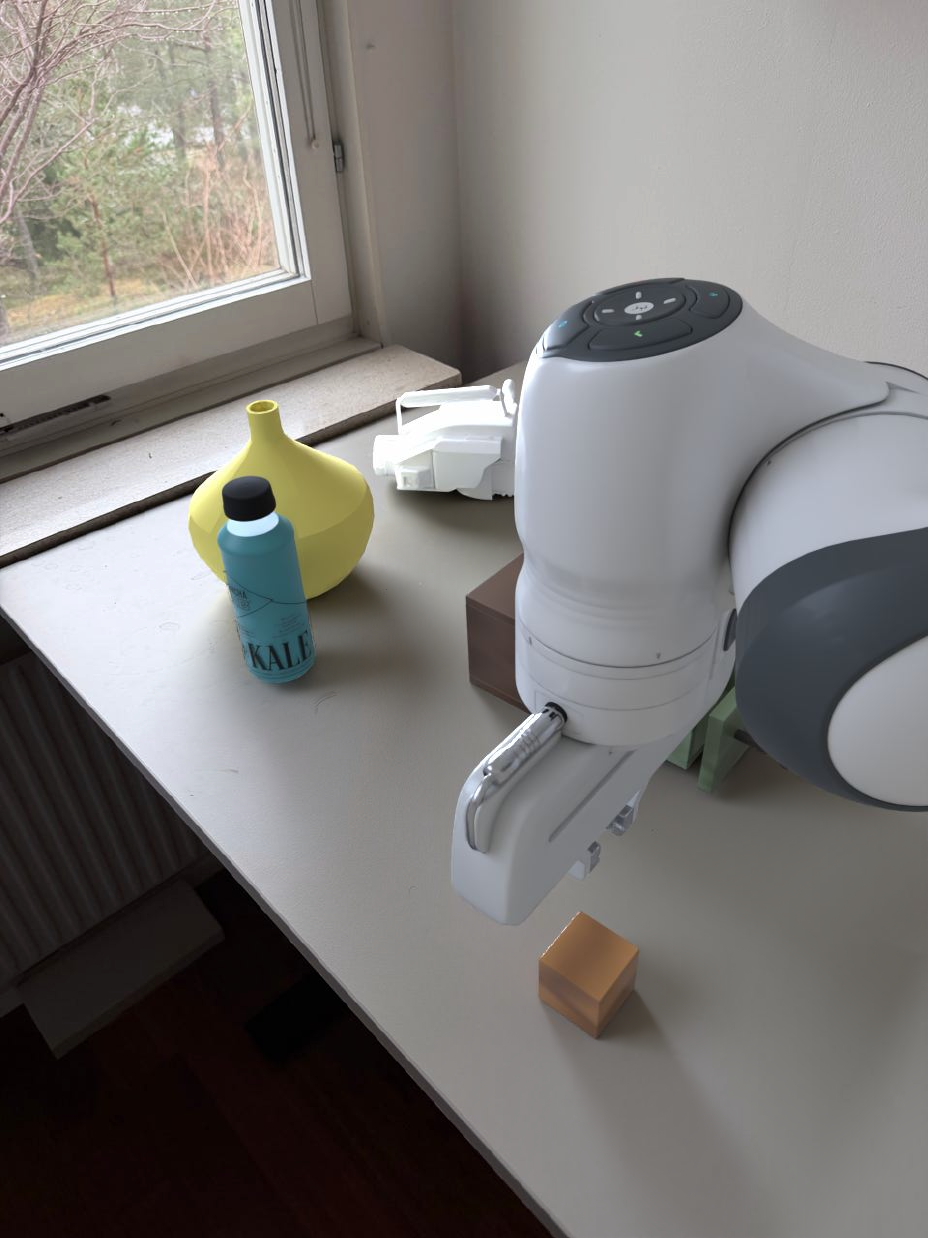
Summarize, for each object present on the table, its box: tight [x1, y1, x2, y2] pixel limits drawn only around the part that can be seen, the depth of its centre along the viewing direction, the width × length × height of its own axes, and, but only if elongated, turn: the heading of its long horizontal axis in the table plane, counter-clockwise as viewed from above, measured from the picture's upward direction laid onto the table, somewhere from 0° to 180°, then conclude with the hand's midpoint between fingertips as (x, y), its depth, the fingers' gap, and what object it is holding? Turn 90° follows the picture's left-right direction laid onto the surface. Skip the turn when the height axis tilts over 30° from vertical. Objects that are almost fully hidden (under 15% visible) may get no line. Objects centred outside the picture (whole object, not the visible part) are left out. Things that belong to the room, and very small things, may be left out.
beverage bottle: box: [217, 476, 318, 684], centre depth 80 cm, size 6×7×20 cm
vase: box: [187, 399, 376, 601], centre depth 92 cm, size 18×18×19 cm
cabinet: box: [464, 551, 532, 715], centre depth 81 cm, size 16×13×10 cm
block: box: [537, 910, 641, 1040], centre depth 59 cm, size 4×4×4 cm
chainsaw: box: [372, 379, 519, 501], centre depth 108 cm, size 15×35×12 cm, turn 82°
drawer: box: [665, 662, 789, 795], centre depth 75 cm, size 20×12×8 cm, turn 50°
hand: (597, 844), depth 51 cm, fingers closed
